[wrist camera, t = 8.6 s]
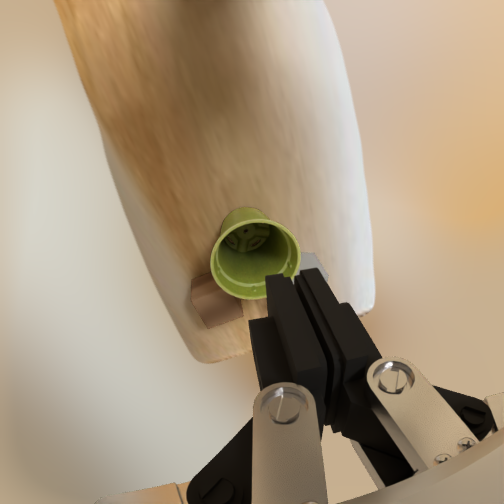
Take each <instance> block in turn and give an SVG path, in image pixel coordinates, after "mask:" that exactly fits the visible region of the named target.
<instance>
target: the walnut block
mask: <svg viewBox="0 0 504 504" xmlns="http://www.w3.org/2000/svg"><path fill="white" fill-rule="evenodd" d="M191 302H192V304H193V305H194V307H195V309H196V310H197V312H198V313H199V315H200V317H201V318H202V320H203V322H204V323H205V325H206V326H207V328H208V329H210V328H212V327H215V326H218V325H221V324H223V323H226V322H229V321H232V320H234V319H237V318H240V317H243V316H244V315H243V310H242V305H241V299H240V298H238V297H235V296H233V295H230V294H228V293H227V292H225V291H224V290H223V289H222V288H221V287H220V286H219V285H218V284H217V283H216V281H215V279H214V277H213V275H212V272H210V273H207V274H205V275H202V276H200V277H197V278H195V279H192V286H191Z"/></svg>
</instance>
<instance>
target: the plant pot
mask: <svg viewBox="0 0 504 504" xmlns="http://www.w3.org/2000/svg"><path fill="white" fill-rule="evenodd" d="M262 223H264V224H262ZM245 229H247V230H248V232H247V233H245V232H244V230H245ZM228 236H229V237H230V238H231V240H232V241H233V243H235V244H232V243H230V242H229V240H228V239H227V237H228ZM259 239H260V242H259V243H257V245H255V246H251V245H252V244H253V243H255V242H257V241H258V240H259ZM300 260H301V252H300V247H299V244H298V242H297V240H296V238H295V237H294V235H293V234H292V233H291V232H290V231H289V230H288V229H287V228H286V227H284V226H283V225H281V224H279V223H277V222H275V221H272V220H270V219H269V218H268V217H267V216H266V215H265V214H263V213H262V212H261V211H260V210H258V209H255V208H249V207H242V208H238V209H236V210H234V211H232V212H231V213H230V214H229V215H228V216H227V217H226V218H225V220H224V221H223V224H222V228H221V234H220V237H219V238H218V240H217V241H216V243H215V245H214V247H213V249H212V253H211V258H210V268H211V272H212V275H213V277H214V279H215V281H216V283H217V284H218V285H219V286H220V287H221V288H222V289H223V290H224V291H225V292H227V293H228V294H230V295H233V296H235V297H238V298H241V299H248V300H249V299H250V300H255V299H261V298H266V297H267V296H266V285H265V276H266V275H273V274H279V273H283V275H284V277H290V278H291V280H293V278H294V276H295V275H296V273H297V271H298V269H299V266H300Z"/></svg>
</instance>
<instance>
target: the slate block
mask: <svg viewBox="0 0 504 504" xmlns="http://www.w3.org/2000/svg"><path fill="white" fill-rule="evenodd" d="M316 267H317V268H318V269H319V271H320V272H321V274H322V275H323V277H324V279H325V280H326V282H327V281H328V276H329V275H328V274H327V272H326V271H325V269H324V267H323V266H322V264H321V263H320V261H319V259H318V258H317V256H316V255H315V253H301V260H300V266H299V269H298V271H297V273H296V275H299V272H300V270H304V269H310V268H316ZM292 282H293V284H294V278H293V280H292Z"/></svg>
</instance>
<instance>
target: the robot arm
mask: <svg viewBox="0 0 504 504" xmlns="http://www.w3.org/2000/svg"><path fill="white" fill-rule="evenodd" d="M265 285H266V296H267V308H268V317H265V318H259V319H253V320H248V322H249V330H250V337H251V344H252V350H253V355H254V361H255V366H256V371H257V376H258V381H259V386H260V391H261V392H260V393H259V394H258V395H257V397H256V399H255V401H254V406H253V417H252V418H251V419H250V420H249V421H248V423H247V424H246V425H245V426H244V427H243V428H242V429H241V430H240V431H239V432H238V433H237V434H236V436H234V437H233V439H232V440H231V441H230V442H229V443H228V444H227V445H226V446H225V447H224V448H223V449H222V450H221V451H220V452H219V453H218V454H217V455H216V456H215V457H214V458H213V459H212V460H211V461H210V462H209V463H208V464H207V465H206V466H205V467H204V468H203V469H202V470H201V471H200V472H199V473H198V474H197V475H196V476H195V477H194V478H193V479H192V480H191V481H189V482H185V483H181V484H177V485H176V483H170V484H166V485H161V486H157V487H152V488H147V489H142V490H137V491H131V492H125V493H119V494H113V495H107V496H104V497H102V498H100V499H99V500H98V501H97V502H95V504H328V498H327V489H326V481H325V472H324V465H323V456H322V448H321V439H322V433H323V426H324V425H325V426H327V425H331V428H332V431H333V433H337V432H340V431H341V433H342V436H344V437H346V438H349V439H350V441H351V443H352V446H353V448H354V450H355V451H356V453H357V455H358V456H359V458H360V460H361V461H362V463H363V465H364V466H365V468H366V469H367V471H368V473H369V475H370V476H371V478H372V480H373V481H374V483H375V485H376V486H377V488H378V491H375V492H372V493H369V494H366V495H363V496H360V497H357V498H354V499H351V500H347V501H344V502H341V503H337V504H504V392H502V393H499V394H495V395H491V396H488V397H486V398H485V399H484V400H483V401H482V400H479V399H477V398H474V397H471V396H467V395H464V394H460V393H457V392H453V391H450V390H447V389H443V388H440V387H437V386H433V385H431V384H430V383H429V381H428V380H427V379H426V378H425V377H424V376H423V374H422V373H421V372H420V371H419V370H418V369H417V368H416V367H415V366H414V365H413V364H412V363H411V362H409V361H407V360H405V359H403V358H398V357H385V358H382V356H381V354H380V353H379V351H378V349H377V348H376V346H375V344H374V343H373V341H372V339H371V338H370V336H369V334H368V333H367V331H366V329H365V328H364V326H363V324H362V323H361V321H360V319H359V318H358V316H357V315H356V313H355V311H354V310H353V308H352V307H351V305H350V304H349V303H347V302H345V303H341V304H339V302H338V301H337V299H336V297H335V296H334V294H333V292H332V291H331V289H330V287H329V285H328V284H327V282H326V280H325V279H324V277H323V275H322V274H321V272H320V271H319V269H318V268H317V267H316V268H310V269H304V270H300V272H299V275H295V276H294V284H293V282H292V280H291V278H290V277H284V275H283V273H279V274H273V275H266V276H265Z"/></svg>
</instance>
